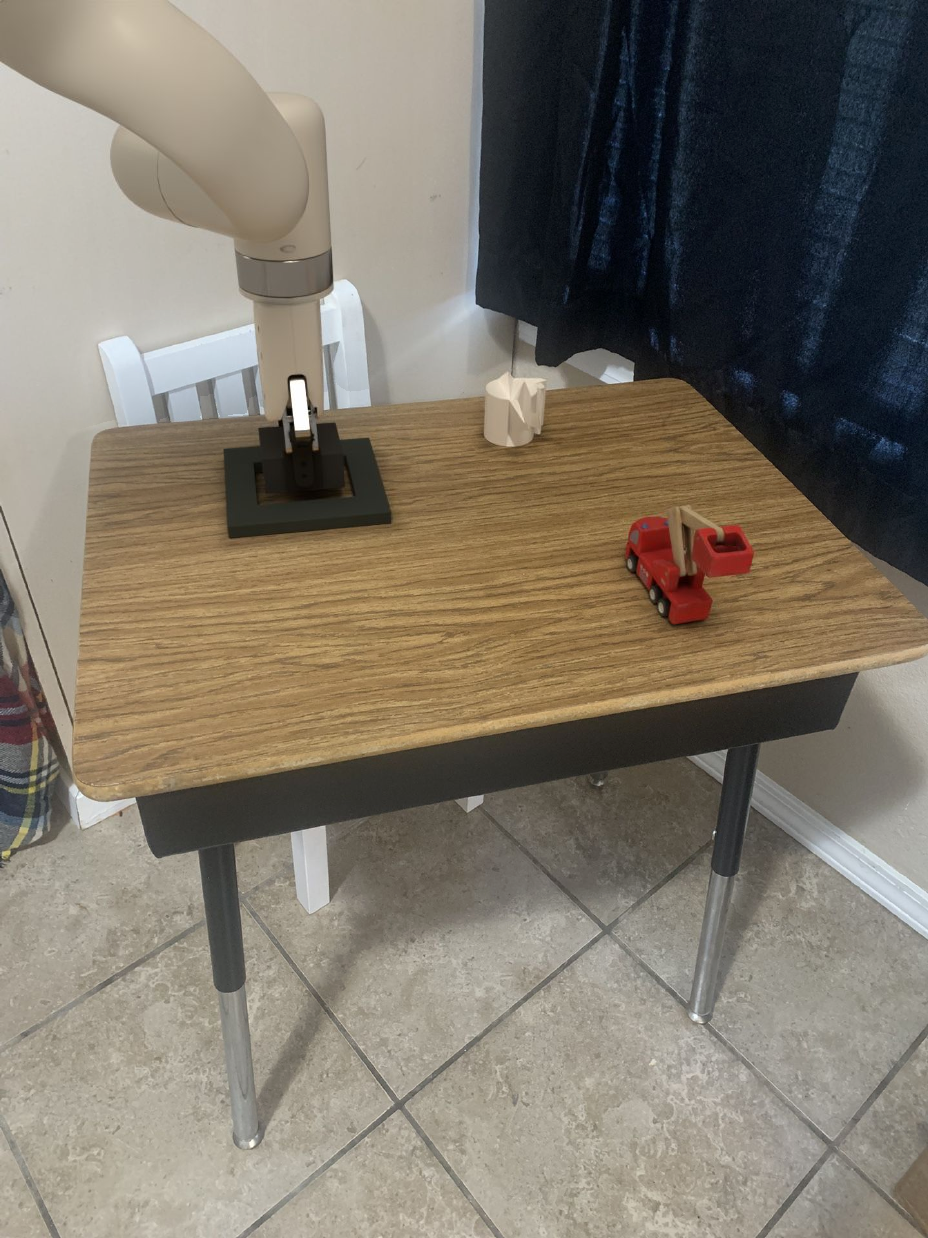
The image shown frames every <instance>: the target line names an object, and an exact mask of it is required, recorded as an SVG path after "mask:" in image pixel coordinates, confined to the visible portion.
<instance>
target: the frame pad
mask: <svg viewBox="0 0 928 1238" xmlns="http://www.w3.org/2000/svg"><path fill="white" fill-rule="evenodd" d="M340 442H341V447H342V451H343V460H344V467H346V470H347V474H348V478H349V482H350V487H351V492H352V494H353V495H352V496H342V497H329V498H319V499H306V500H296V501H284V502H271V503H262V504H261V503H260V504H259V499H258V489H257V480H256V479H257V478H256V474H263V468H262V459H261V449H260V445H255V446H254V445H253V446H240V447H229V448H223V466H224V469H223V470H224V487H225V488H224V489H225V507H226V509H225V510H226V527H227V535H228V538H229V539H237V538H246V537H257V536H269V535H278V534H289V533H290V534H291V533H300V532H313V531H321V530H332V529H343V528H354V527H355V528H356V527H366V526H374V525H375V526H376V525H384V524H385V525H386V524H392V509H391V506H390V503H389V500H388V496H387V492H386V489H385V487H384V483H383V482H384V481H383V480H382V475H381V472H380V469H379V466H378V462H377V459H376V455H375V452H374V449H373V446H372V443H371V439H370V437H357V438H346V439H345V438H344V439H340Z"/></svg>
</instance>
